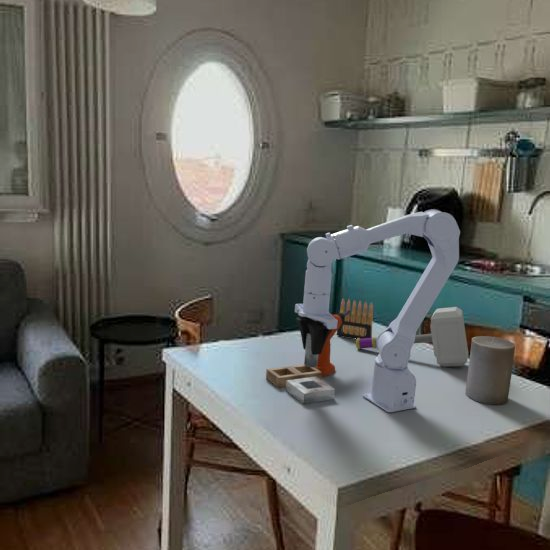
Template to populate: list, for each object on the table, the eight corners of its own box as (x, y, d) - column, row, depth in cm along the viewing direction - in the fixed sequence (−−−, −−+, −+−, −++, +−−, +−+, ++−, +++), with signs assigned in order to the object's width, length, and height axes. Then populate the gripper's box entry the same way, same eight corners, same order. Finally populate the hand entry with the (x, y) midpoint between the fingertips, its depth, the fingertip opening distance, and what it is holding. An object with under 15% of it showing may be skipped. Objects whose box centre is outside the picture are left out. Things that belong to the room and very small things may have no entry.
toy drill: (355, 354, 155) (358, 302, 151) (324, 381, 140) (326, 325, 135) (339, 350, 157) (341, 299, 153) (307, 376, 142) (308, 321, 138)
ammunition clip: (371, 340, 174) (375, 302, 172) (370, 341, 173) (374, 303, 170) (337, 334, 178) (341, 297, 176) (336, 335, 176) (339, 298, 174)
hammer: (349, 321, 160) (460, 311, 149) (355, 315, 167) (461, 305, 156) (358, 373, 162) (467, 366, 151) (363, 365, 169) (469, 358, 158)
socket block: (334, 399, 127) (334, 389, 126) (303, 404, 123) (304, 393, 123) (315, 386, 134) (315, 376, 133) (285, 390, 130) (286, 380, 130)
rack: (308, 373, 142) (309, 363, 142) (321, 381, 137) (322, 372, 137) (265, 378, 136) (266, 369, 136) (277, 387, 131) (278, 377, 131)
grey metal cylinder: (319, 366, 127) (322, 334, 125) (308, 367, 125) (311, 335, 124) (312, 362, 129) (315, 330, 128) (301, 363, 128) (304, 331, 127)
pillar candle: (511, 396, 136) (519, 336, 133) (503, 409, 128) (512, 345, 125) (470, 386, 141) (477, 328, 138) (460, 398, 133) (467, 336, 130)
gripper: (285, 285, 129) (280, 343, 131) (319, 301, 116) (314, 363, 119) (311, 284, 132) (306, 340, 134) (347, 299, 119) (341, 360, 122)
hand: (312, 351), depth 127 cm, fingers closed on grey metal cylinder, 3 cm apart
